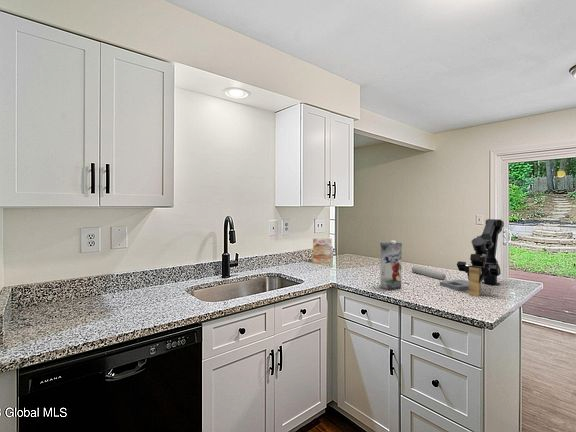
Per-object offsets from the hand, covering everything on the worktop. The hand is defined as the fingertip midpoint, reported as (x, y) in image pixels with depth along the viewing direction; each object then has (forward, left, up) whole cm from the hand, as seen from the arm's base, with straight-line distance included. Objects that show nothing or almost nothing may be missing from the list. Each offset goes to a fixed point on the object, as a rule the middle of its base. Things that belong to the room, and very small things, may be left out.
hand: (474, 281), depth 158 cm
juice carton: (+32, -26, -7) cm, 41 cm away
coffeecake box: (+36, -112, -7) cm, 117 cm away
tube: (-10, -43, -8) cm, 45 cm away
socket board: (-7, -15, -7) cm, 18 cm away
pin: (-1, -1, -7) cm, 7 cm away
